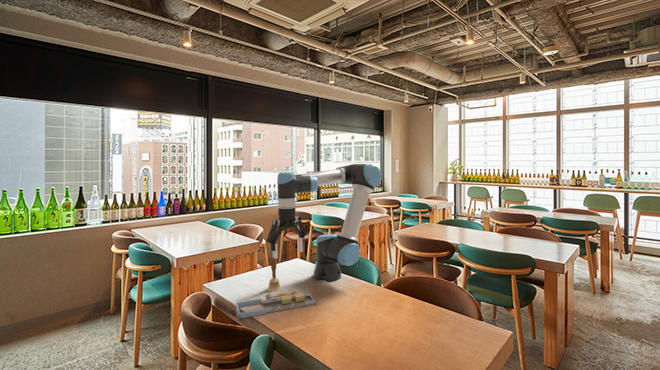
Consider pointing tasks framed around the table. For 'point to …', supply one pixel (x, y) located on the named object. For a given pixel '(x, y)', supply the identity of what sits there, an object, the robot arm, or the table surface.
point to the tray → (250, 313)
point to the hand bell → (274, 279)
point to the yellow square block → (298, 297)
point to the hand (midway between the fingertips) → (288, 254)
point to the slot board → (276, 306)
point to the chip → (285, 299)
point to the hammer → (278, 295)
